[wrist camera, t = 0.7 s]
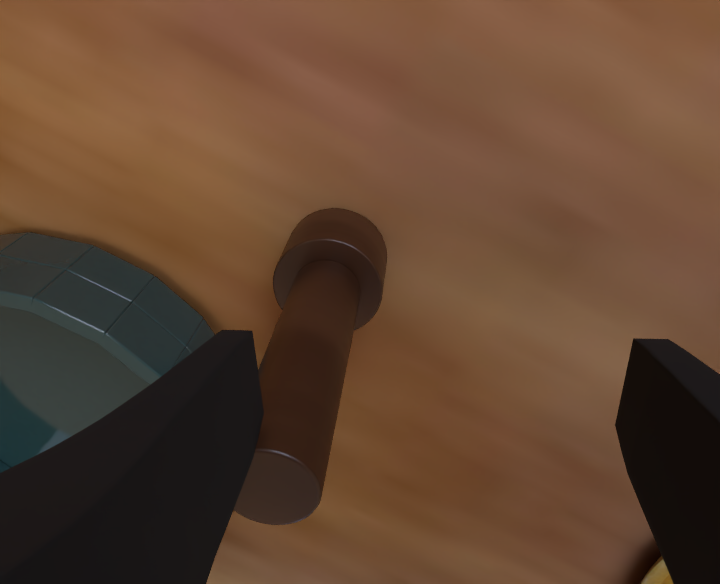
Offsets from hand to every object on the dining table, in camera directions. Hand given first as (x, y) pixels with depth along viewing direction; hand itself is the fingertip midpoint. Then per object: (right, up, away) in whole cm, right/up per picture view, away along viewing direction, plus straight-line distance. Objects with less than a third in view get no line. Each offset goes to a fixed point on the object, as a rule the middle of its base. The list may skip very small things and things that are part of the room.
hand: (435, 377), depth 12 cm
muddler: (-2, +3, +10) cm, 11 cm away
